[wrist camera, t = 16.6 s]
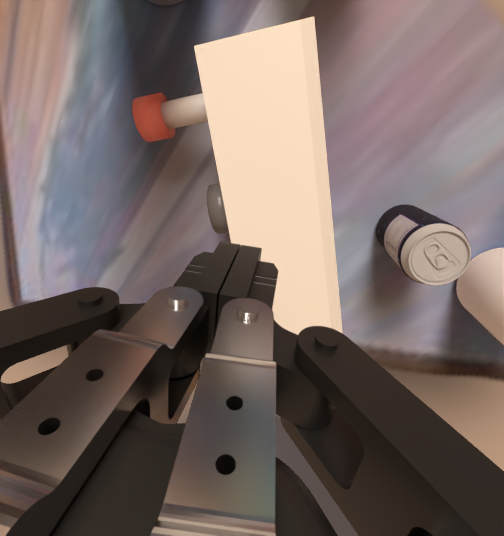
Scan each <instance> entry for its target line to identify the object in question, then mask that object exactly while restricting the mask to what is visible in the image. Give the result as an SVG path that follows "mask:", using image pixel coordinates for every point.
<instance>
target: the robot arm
mask: <svg viewBox="0 0 504 536" xmlns="http://www.w3.org/2000/svg"><path fill="white" fill-rule="evenodd" d="M148 1H149V2H151V3H154V4H158V5H173V4H177V3H179V2H181V1H183V0H148ZM261 252H262V248H259V247H253V246H246V245H240V244H234V243H228V242H222V241H221V242H220V243H219V245H218V246H217V248H216V250H215V251H214V253H209V252H203V253H201V254H199V255H197V256H195V257H194V258H193V260H192V261H191V262H190V264H189V265H188V266H187V268H186V269H185V271H184V272H183V273H182V275H181V276H180V277H179V279H178V280H177V282H176V283H175V284H174V286H173V287H169V288H165V289H162V290H160V291H158V292H157V293H155V294H154V295H153V296H152V297H151V298H150V299H149V300H148V302H147V303H143V304H120V303H119V296H118V294H117V293H116V292H114V291H112V290H110V289H107V288H100V287H92V288H84V289H80V290H76V291H73V292H69V293H65V294H62V295H58V296H55V297H51V298H47V299H44V300H40V301H36V302H33V303H29V304H25V305H22V306H18V307H14V308H11V309H7V310H3V311H0V380H1V376H2V374H3V373H4V372H5V370H6V369H8V368H9V367H10V366H12V365H14V364H16V363H18V362H21V361H24V360H27V359H29V358H32V357H35V356H38V355H40V354H43V353H46V352H48V351H51V350H54V349H56V348H59V347H62V346H65V345H67V351H68V357H67V358H66V359H65V360H64V361H63V362H62V363H61V364H60V365H59V366H56V367H54V368H52V369H49V370H47V371H44V372H41V373H39V374H36V375H34V376H32V377H29V378H26V379H24V380H21V381H19V382H16V383H12V384H6V383H2V382H1V381H0V536H338V535H337V534H336V532H335V531H334V529H333V527H332V526H331V524H330V522H329V521H328V519H327V517H326V516H325V514H324V513H323V511H322V509H321V508H320V506H319V504H318V503H317V501H316V499H315V498H314V496H313V495H312V493H311V492H310V490H309V489H308V488H307V486H306V485H305V484H304V483H303V481H302V480H301V479H300V478H299V477H298V476H297V475H296V474H295V473H294V471H292V470H291V469H290V467H288V466H287V465H286V464H285V463H283V462H282V461H281V460H280V459H278V458H277V457H276V414H277V415H279V416H281V422H282V425H283V427H284V429H285V430H286V432H287V433H288V434H289V436H290V437H291V439H292V440H293V441H294V443H295V445H296V446H297V447H298V449H299V450H300V452H301V453H302V454H303V456H304V457H305V459H306V460H307V462H308V463H309V465H310V466H311V468H312V469H313V470H314V472H315V473H316V475H317V476H318V478H319V479H320V480H321V482H322V483H323V485H324V486H325V487H326V489H327V490H328V492H329V493H330V495H331V496H332V498H333V499H334V500H335V502H336V503H337V505H338V506H339V508H340V509H341V511H342V512H343V513H344V515H345V516H346V518H347V519H348V521H349V522H350V523H351V525H352V526H353V528H354V529H355V531H356V532H357V534H358V535H359V536H504V471H503V470H501V469H500V468H499V467H498V466H497V465H495V464H494V463H493V462H492V461H491V460H490V459H489V458H487V457H486V456H485V455H484V454H483V453H482V452H480V451H479V450H478V449H477V448H476V447H474V446H473V445H472V444H471V443H470V442H469V441H467V440H466V439H465V438H464V437H463V436H462V435H461V434H459V433H458V432H457V431H456V430H455V429H454V428H452V427H451V426H450V425H449V424H448V423H447V422H446V421H444V420H443V419H442V418H441V417H440V416H438V415H437V414H436V413H435V412H434V411H433V410H432V409H430V408H429V407H428V406H427V405H426V404H424V403H423V402H422V401H421V400H420V399H419V398H418V397H416V396H415V395H414V394H413V393H412V392H411V391H409V390H408V389H407V388H406V387H405V386H404V385H402V384H401V383H400V382H399V381H398V380H396V379H395V378H394V377H393V376H392V375H391V374H390V373H388V372H387V371H386V370H385V369H384V368H383V367H381V366H380V365H379V364H378V363H377V362H376V361H374V360H373V359H372V358H371V357H370V356H369V355H367V354H366V353H365V352H364V351H363V350H362V349H360V348H359V347H358V346H357V345H356V344H355V343H353V342H352V341H351V340H350V339H349V338H348V337H346V336H345V335H344V334H342V333H341V332H339V331H337V330H335V329H332V328H329V327H324V326H311V327H307V328H305V329H303V330H302V331H301V332H300V333H299V335H297V334H295V333H293V332H290V331H288V330H286V329H284V328H283V327H281V326H280V325H279V324H278V323H277V322H276V321H275V320H274V314H273V311H272V307H273V301H274V295H275V289H276V283H277V277H278V269H277V268H276V266H275V265H274V263H269V262H263V261H260V260H261ZM202 358H205V359H204V362H203V366H202V369H201V373H200V362H201V360H202ZM198 379H199V380H198ZM197 382H198V383H197ZM196 384H197V387H196V390H195V394H194V397H193V401H192V404H191V408H190V412H189V415H188V418H187V422H186V423H185V424H183V423H182V424H177V422H178V420H179V418H180V416H181V414H182V412H183V410H184V408H185V405H186V404H187V402H188V400H189V398H190V396H191V394H192V392H193V390H194V388H195V386H196Z"/></svg>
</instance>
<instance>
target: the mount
mask: <svg viewBox="0 0 504 536" xmlns="http://www.w3.org/2000/svg"><path fill="white" fill-rule="evenodd" d="M194 49H195V54H196V60H197V65H198V70H199V76H200V81H201V86H202V91H203V97H204V102H205V107H206V113H207V118H208V123H209V128H210V134H211V139H212V144H213V150H214V155H215V160H216V165H217V171H218V176H219V181H220V187H221V192H222V197H223V202H224V208H225V213H226V218H227V224H228V229H229V234H230V239H231V243H234V244H240V245H246V246H253V247H259V248H262V252H261V260H260V261H263V262H269V263H274V265H275V266H276V268H277V269H278V277H277V283H276V289H275V295H274V301H273V307H272V311H273V314H274V320H275V321H276V322H277V323H278V324H279V325H280V326H281V327H283V328H284V329H286V330H288V331H290V332H293V333H295V334H297V335H299V333H300V332H301V331H302V330H303V329H305V328H307V327H311V326H324V327H329V328H332V329H335V330H337V331H339V332H341V333H342V322H341V311H340V300H339V289H338V278H337V266H336V255H335V244H334V233H333V222H332V210H331V199H330V188H329V177H328V165H327V154H326V143H325V132H324V121H323V109H322V98H321V87H320V76H319V65H318V53H317V42H316V31H315V20H314V16H313V17H309V18H305V19H301V20H297V21H293V22H289V23H285V24H281V25H277V26H273V27H269V28H265V29H261V30H257V31H252V32H248V33H244V34H240V35H236V36H232V37H228V38H224V39H220V40H216V41H212V42H208V43H204V44H200V45H196V46H194Z"/></svg>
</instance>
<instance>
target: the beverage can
mask: <svg viewBox="0 0 504 536" xmlns="http://www.w3.org/2000/svg"><path fill="white" fill-rule="evenodd" d="M376 235H377V239H378V241H379V243H380V244H381V246H382V247H383V248H384V249H385V250H386V251H387V253H388V254H389V255H390V256H391V257H392V259H393V260H394V261H395V262H396V263H397V265H398V266H399V267H400V268H401V269H402V270H403V272H404V273H405V274H406V275H407V276H408V277H409V278H411V279H412V280H414V281H416V282H419V283H422V284H428V285H444V284H447V283H450V282H452V281H454V280H456V279H457V278H459V277H460V276H461V275H462V274H463V273H464V272H465V271H466V269H467V268H468V265H469V263H470V260H471V249H470V246H469V243H468V240H467V238H466V236H465V234H464V233H463V232H462V231H461V230H460V229H459V228H458V227H456V226H454V225H452V224H450V223H448V222H446V221H444V220H442V219H440V218H438V217H436V216H434V215H431V214H429V213H427V212H425V211H423V210H421V209H419V208H417V207H415V206H412V205H399V206H395V207H393V208H391V209H389V210H388V211H386V212H385V213H384V214H383V215H382V217H381V218H380V220H379V222H378V224H377V228H376Z"/></svg>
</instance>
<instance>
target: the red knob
mask: <svg viewBox="0 0 504 536" xmlns="http://www.w3.org/2000/svg"><path fill="white" fill-rule="evenodd" d="M132 111H133V117H134V121H135V124H136V127H137V129H138V131H139V133H140V135H141V136H142V138H143V139H144V140H145V141H147V142H153V141H158V140H163V139H168V138H173V137H174V135H175V128H178V127H183V126H188V125H193V124H198V123H203V122H208V118H207V113H206V107H205V102H204V97H203V93H202V94H197V95H192V96H188V97H183V98H179V99H174V100H169V101H168V100H167V98H166V97H165V95H164V94H163V93H156V94H151V95H147V96H142V97H138V98H135V99H134V100H133V104H132Z"/></svg>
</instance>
